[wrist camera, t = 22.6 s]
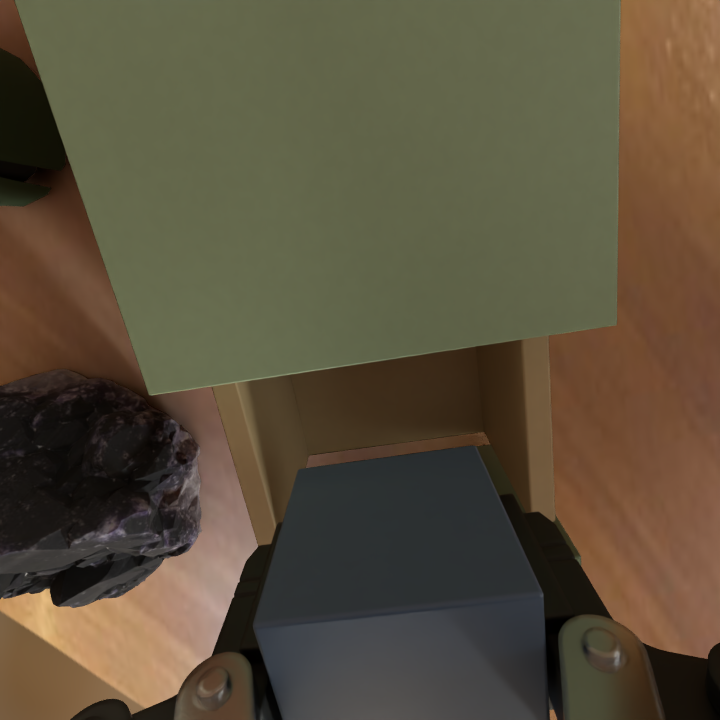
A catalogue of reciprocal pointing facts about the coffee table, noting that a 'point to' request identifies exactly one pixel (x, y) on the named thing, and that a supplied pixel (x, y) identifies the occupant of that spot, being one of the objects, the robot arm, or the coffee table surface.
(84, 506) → the black rock
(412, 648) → the block
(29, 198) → the character mug
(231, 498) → the coffee table surface
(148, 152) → the cabinet
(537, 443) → the drawer
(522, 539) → the robot arm
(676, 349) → the coffee table surface
